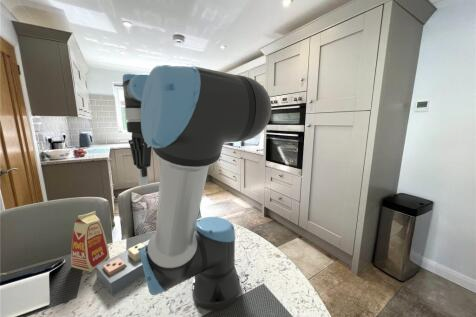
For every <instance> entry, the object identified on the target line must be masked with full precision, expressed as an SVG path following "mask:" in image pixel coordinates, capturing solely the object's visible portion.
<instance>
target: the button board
mask: <svg viewBox="0 0 476 317" xmlns="http://www.w3.org/2000/svg"><path fill="white" fill-rule="evenodd" d="M149 240H150V238H149V239H147V240H146V241H143V242H141V243H142V244H143V245H148V243H149ZM117 258H120V259H121V260H122V261H123V262H124V263H125V266H126V268H124V269H122V270H120V271H118V272H117V273H115V274H113V275H111V276H110V277H109V276H108V275H107V274H106V273H105V272H104V268H103V265H105V264H107V263H109V262H111V261H113V260H115V259H117ZM95 271H96V273H95V274H96V278H97V280H98V281H99V282H100V283H101V284H102V286H104V288H105V289H106V290H107V291H108V293H109V294H111V296H112V297H113V296H115V295H117V293H119V292H121V291H122V290H125V289H126V288H127V287H129V286H131V285H132V284H134V283H135V282H136V281H138V280H139V279H141V278H143V277H145V274H144V270H143V266H142V262H141V259H140V260H138V261H136V262H134V261H133V260H132V259H131V258H130V257H129V256H128V249H127V250H125V251H123V252H121V253H119V254H116V255H115V256H113V257H111V258H109V259H106V260H105V261H104V262H103V263H101V264H99V265H97V266H96V268H95Z"/></svg>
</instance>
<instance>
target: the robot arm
mask: <svg viewBox="0 0 476 317" xmlns="http://www.w3.org/2000/svg"><path fill="white" fill-rule="evenodd" d="M121 85H122V87H123V88H122V89H123V99H124V113H125V120H126V121H127V122H126V130H127V131H126V132H127V133H130V134H131V139H128V144H129V148H130V152H131V157H132V162H133V165H134V166H136V169H137V176H138V178H137V179H138V185H139V186H140V187H141V186H145V185H149V180H148V177H149V176H148V168H149V167H151V165H152V164H151V163H152V162H151V161H152V151H153V154H154V155H155V156H156V157H157V158H158V159H160V169H159V170H160V172H159V183H158V185H159V186H158V197H157V199H158V200H157V214H156V222H155V223H156V225H155V232H154V233H153V234H152V235H151V236H150V237H149V239H150V240H149V239H148V240H149V243H148V245H145V246H144V247H142V248H140V250H139V254H140V258H141V262H142V266H143V270H144V274H145V275H144V277H145V281H146V285H147V288H148V293H149V294H150V295H152V296H156V295H159V294H162V293H165V292H168V291H169V290H170V289H172V288H174V287H176V286H177V285H180V284H181V283H184V282H186V281H188V280H190V279H192V278H194V279H193V281H192V286H191V287H192V288H191V289H192V292H191V293H192V298H193V300H194V302H195V304H197V305H198V306H199V307H200V308H202V309H204V310H206V311H207V310H208V311H221V310H223V309H226V308H229V307H230V306H231V305H232V304H233V303H235V302H236V301H237V299H238V297H239V295H240V291H241V280H240V276H239V275H238V272H237V269H236V266H235V264H236V261H235V256H236V254H235V253H236V251H235V250H236V249H235V248H236V246H235V244H236V242H235V241H236V234H235V226H234V225H233V223H232V222H231V221H229V220H227V219H226V218H223V217H219V216H206V217H202V218H200V219H199V220H198V216H199V211H200V208H201V203H202V200H203V199H202V198H203V196H204V195H203V194H204V191H205V190H204V189H205V186H206V183H207V182H206V180H207V178H208V172H209V168H210V167H211V166H214V165H215V164H216V163H217V162H219V160H220V158H221V154H222V150H223V146H224V144H225V143H236V142H246V141H248V140H251V139H253V138H256V137H257V136H258V135H260V134H261V133H262V132H263V131H264V130H265V128H266V127H267V126H268V124H269V122H270V119H271V115H272V102H271V98H270V94H269V93H268V91H267V90H266V88H265V87H264V86H263V85H262V84H261V83H259V82H258V81H257V80H255V79H253V78H251V77H248V76H246V75H239V74H233V73H228V72H223V71H218V70H214V69H209V68H205V67H200V66H195V65H191V64H180V63H171V62H162V63H159V64H157V65H156V66H155V67H153V68H152V70H151V71H150V72H149V74H148V73H124V74H123V75H122V84H121Z"/></svg>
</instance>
